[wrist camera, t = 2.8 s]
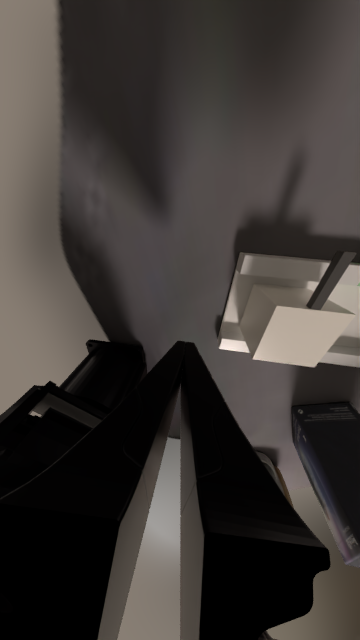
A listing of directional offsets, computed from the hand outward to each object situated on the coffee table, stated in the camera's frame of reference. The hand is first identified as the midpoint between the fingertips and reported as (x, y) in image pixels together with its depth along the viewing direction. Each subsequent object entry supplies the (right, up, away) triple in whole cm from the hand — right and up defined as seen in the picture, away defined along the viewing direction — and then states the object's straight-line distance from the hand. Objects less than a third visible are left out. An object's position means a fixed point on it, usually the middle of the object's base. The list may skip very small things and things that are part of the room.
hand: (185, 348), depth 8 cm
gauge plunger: (+7, +4, +4) cm, 9 cm away
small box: (+18, -13, +13) cm, 26 cm away
